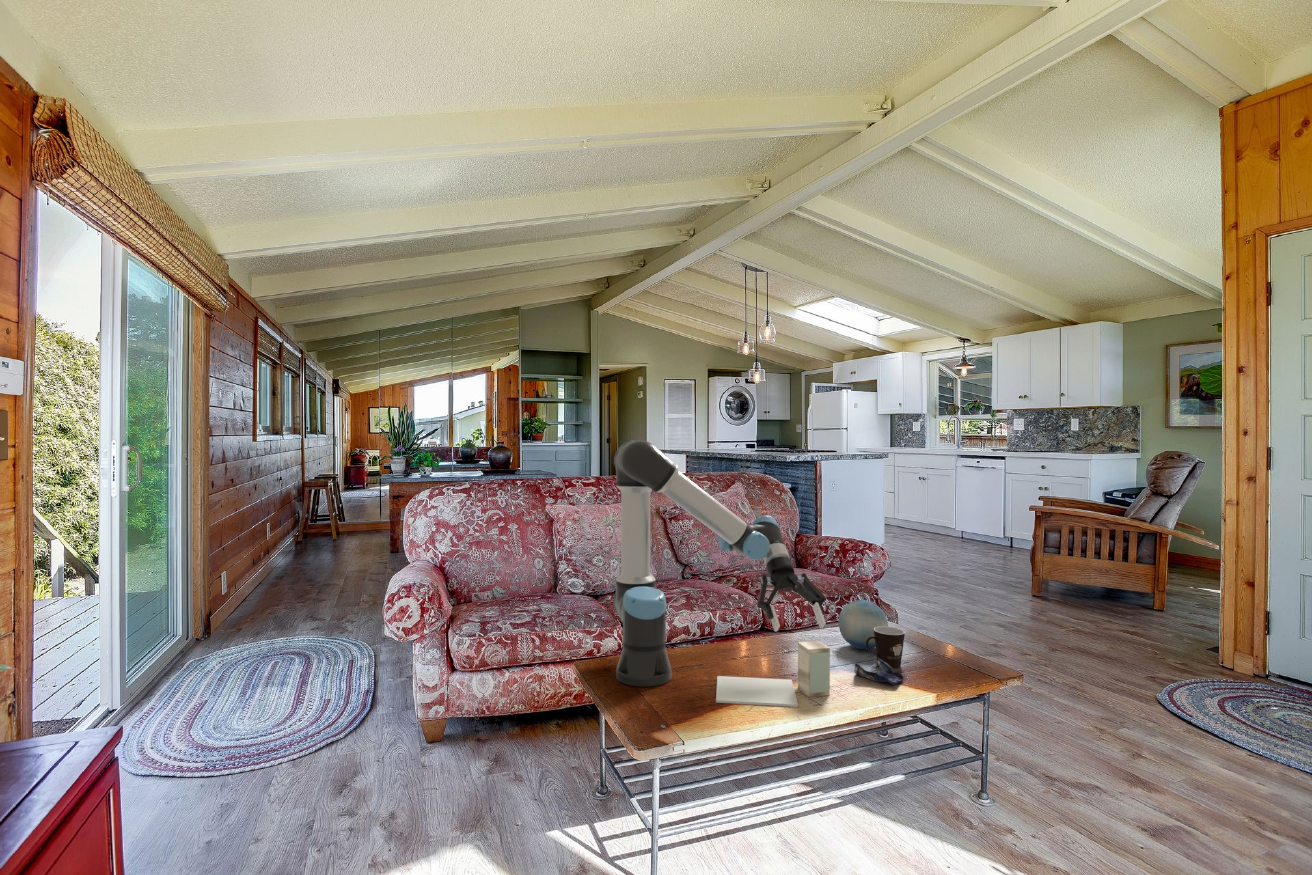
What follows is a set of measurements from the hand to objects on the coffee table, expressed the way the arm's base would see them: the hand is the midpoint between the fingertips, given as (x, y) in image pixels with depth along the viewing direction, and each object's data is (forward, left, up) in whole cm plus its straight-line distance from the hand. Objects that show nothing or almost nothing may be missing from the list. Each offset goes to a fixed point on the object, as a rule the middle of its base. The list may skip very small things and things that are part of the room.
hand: (800, 627), depth 181 cm
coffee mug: (+25, +15, -14) cm, 33 cm away
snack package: (+22, +2, -14) cm, 26 cm away
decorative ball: (+22, +30, -14) cm, 40 cm away
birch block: (+2, -9, -14) cm, 17 cm away
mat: (-13, -12, -14) cm, 22 cm away
